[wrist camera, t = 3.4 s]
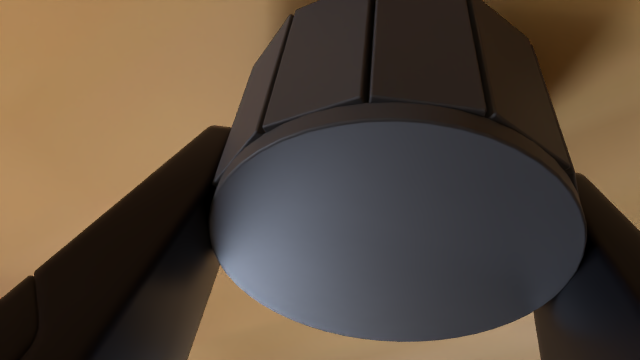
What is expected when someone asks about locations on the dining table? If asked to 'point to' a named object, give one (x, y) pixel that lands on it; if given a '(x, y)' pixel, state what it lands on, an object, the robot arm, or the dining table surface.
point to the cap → (397, 174)
